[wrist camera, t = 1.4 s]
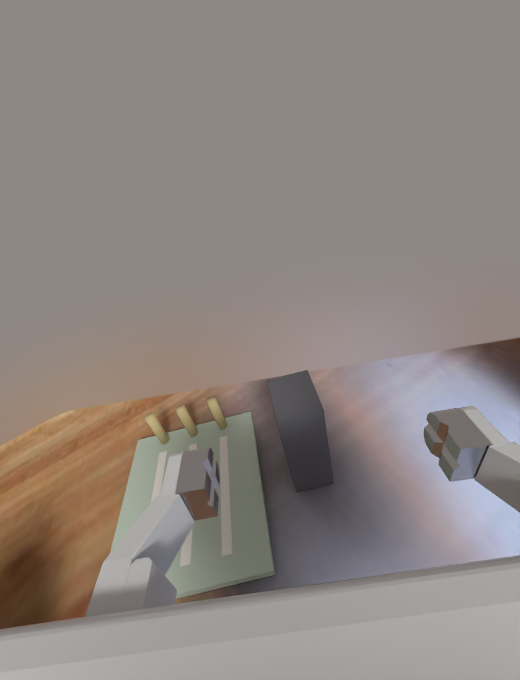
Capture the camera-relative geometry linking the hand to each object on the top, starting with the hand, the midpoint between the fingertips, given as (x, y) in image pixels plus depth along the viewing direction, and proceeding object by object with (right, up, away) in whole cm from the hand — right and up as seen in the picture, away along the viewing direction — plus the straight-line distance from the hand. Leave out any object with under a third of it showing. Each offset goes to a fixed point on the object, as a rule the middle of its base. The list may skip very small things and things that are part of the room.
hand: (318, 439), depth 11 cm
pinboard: (-10, -14, +22) cm, 28 cm away
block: (+3, -10, +22) cm, 24 cm away
